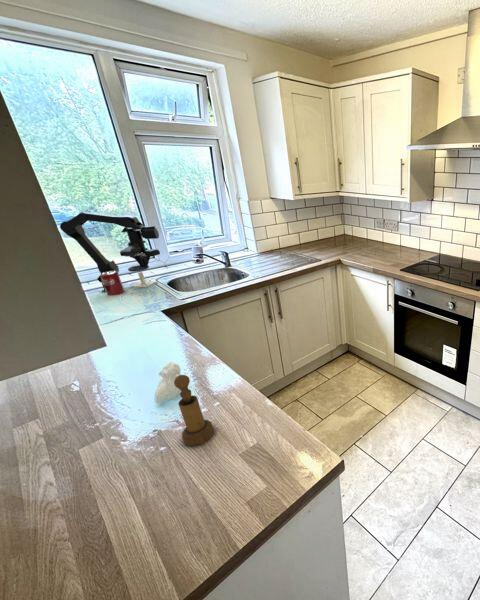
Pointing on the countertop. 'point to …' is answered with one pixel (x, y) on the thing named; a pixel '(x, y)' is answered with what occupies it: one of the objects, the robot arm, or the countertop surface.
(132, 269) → the hoop
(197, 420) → the mortar and pestle
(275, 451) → the countertop surface
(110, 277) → the soda can
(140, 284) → the peg stand
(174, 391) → the bust
